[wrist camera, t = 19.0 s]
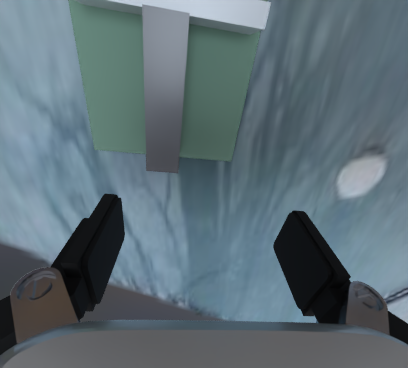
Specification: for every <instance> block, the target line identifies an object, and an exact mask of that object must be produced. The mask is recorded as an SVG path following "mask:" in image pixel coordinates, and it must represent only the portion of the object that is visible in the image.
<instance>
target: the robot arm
mask: <svg viewBox="0 0 408 368" xmlns="http://www.w3.org/2000/svg"><path fill="white" fill-rule="evenodd" d="M124 236H125V232H124V221H123V211H122V201H121V198H118V196H117V195H114V194H104V195H103V197H102V198H101V200H100V202H99V203H98V205H97V206H96V208H95V210H94V211H93V213H92V214H91V216H90V217H89V218H84V219H83V220H82V221H81V222H80V224H79V225H78V227H77V228H76V230H75V231H74V233H73V234H72V236H71V237H70V239H69V240H68V242H67V243H66V245H65V246H64V248H63V249H62V250H61V252H60V253H59V255H58V256H57V258H56V259H55V261H54V262H53V264H52V265H51V267H44V268H39V269H36V270H33V271H31V272H30V273H28V274H26V275H25V276H23V277H22V278H21V279H19V280H18V282H17V283H16V284H15V285H14V287H13V288H12V290H11V295H10V296H8V297H6V298H4V299H2V300H0V368H408V324H407V323H406V322H404V321H403V320H401V319H400V318H398V317H397V316H395V315H394V314H392V313H391V312H389V311H388V308H387V304H386V302H385V301H384V299H383V298H382V296H381V295H380V294H379V293H378V292H377V291H376V290H375V289H373V288H372V287H370V286H369V285H367V284H365V283H363V282H359V281H353V282H352V283H351V282H350V280H349V278H350V277H351V276H350V275H349V274H348V272H347V271H346V269H345V268H344V266H343V265H342V264H341V262H340V261H339V259H338V258H337V256H336V255H335V254H334V252H333V251H332V249H331V248H330V247H329V245H328V244H327V242H326V241H325V239H324V238H323V237H322V235H321V234H320V232H319V231H318V229H317V228H316V227H315V225H314V224H313V222H312V221H311V220H310V218H309V217H308V215H307V214H306V213H305V212H304V211H292V213H289V215H288V217H287V219H286V221H285V223H284V225H283V227H282V229H281V230H280V232H279V234H278V236H277V238H276V240H275V242H274V246H273V247H274V251H275V253H276V256H277V258H278V261H279V263H280V266H281V268H282V271H283V273H284V275H285V278H286V280H287V283H288V285H289V288H290V290H291V293H292V295H293V297H294V300H295V302H296V305H297V307H298V308H299V309H301V311H302V314H303V316H314V315H315V317H316V319H317V321H316V323H295V322H249V321H186V320H185V321H184V320H183V321H182V320H179V321H178V320H103V321H88V322H80V319H81V318H82V317H83V316H84V314H85V311H93V310H94V307H95V305H96V304H99V303H100V302H101V299H102V297H103V294H104V291H105V288H106V286H107V283H108V281H109V278H110V275H111V273H112V270H113V267H114V265H115V262H116V259H117V257H118V254H119V251H120V249H121V246H122V243H123V241H124Z"/></svg>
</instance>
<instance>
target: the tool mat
mask: <svg viewBox="0 0 408 368" xmlns="http://www.w3.org/2000/svg"><path fill="white" fill-rule="evenodd" d="M68 1H69V7H70V13H71V18H72V24H73V30H74V36H75V41H76V47H77V53H78V58H79V64H80V70H81V75H82V81H83V87H84V93H85V98H86V104H87V110H88V115H89V121H90V127H91V132H92V138H93V144H94V150H104V151H116V152H127V153H139V154H146V135H145V95H144V56H143V17H142V15H138V14H132V13H127V12H121V11H116V10H110V9H105V8H99V7H94V6H88V5H83V4H81V3H79V2H77V1H75V0H68ZM261 1H266V2H267V1H268V0H261ZM260 32H261V31H259V32H256V33H253V34H250V35H249V34H243V33H238V32H232V31H227V30H221V29H216V28H210V27H204V26H199V25H193V24H189V30H188V44H187V58H186V71H185V85H184V99H183V113H182V127H181V140H180V154H179V157H185V158H196V159H208V160H220V161H231V160H232V156H233V151H234V147H235V142H236V138H237V134H238V129H239V125H240V120H241V116H242V112H243V107H244V103H245V98H246V94H247V89H248V85H249V81H250V76H251V72H252V67H253V63H254V59H255V54H256V50H257V45H258V41H259V36H260Z"/></svg>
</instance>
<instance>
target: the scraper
mask: <svg viewBox="0 0 408 368" xmlns="http://www.w3.org/2000/svg"><path fill="white" fill-rule="evenodd" d="M75 1H77V2H79V3H81V4H83V5H88V6H94V7H99V8H105V9H110V10H116V11H121V12H127V13H132V14H138V15H142V17H143V56H144V95H145V135H146V171H158V172H171V173H178V168H179V154H180V140H181V127H182V113H183V99H184V85H185V71H186V58H187V44H188V30H189V24H193V25H199V26H204V27H210V28H216V29H221V30H227V31H232V32H238V33H243V34H249V35H250V34H253V33H256V32H259V31H262V30H265V26H266V22H267V18H268V13H269V9H270V5H271V2H266V1H261V0H75Z"/></svg>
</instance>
